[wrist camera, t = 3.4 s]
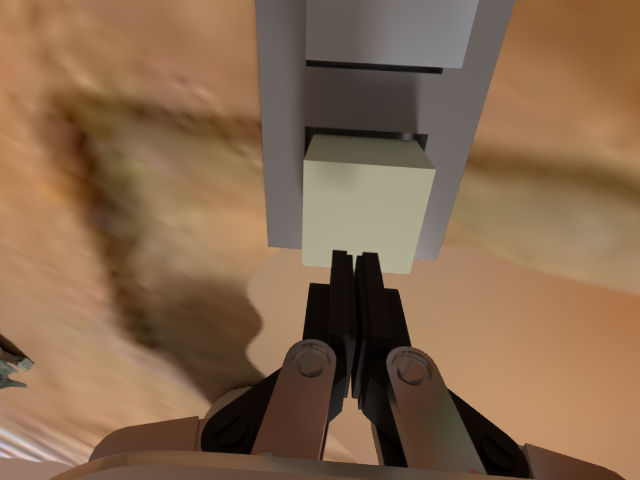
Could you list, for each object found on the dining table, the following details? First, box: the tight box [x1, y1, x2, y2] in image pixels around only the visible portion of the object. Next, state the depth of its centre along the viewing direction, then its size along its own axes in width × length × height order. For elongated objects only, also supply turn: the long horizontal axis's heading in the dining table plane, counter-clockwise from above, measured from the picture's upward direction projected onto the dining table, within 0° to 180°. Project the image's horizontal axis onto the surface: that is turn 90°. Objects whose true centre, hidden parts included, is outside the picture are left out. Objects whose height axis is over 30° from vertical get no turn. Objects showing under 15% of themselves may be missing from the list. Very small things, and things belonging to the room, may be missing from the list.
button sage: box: [302, 134, 436, 274], centre depth 18 cm, size 6×6×5 cm
